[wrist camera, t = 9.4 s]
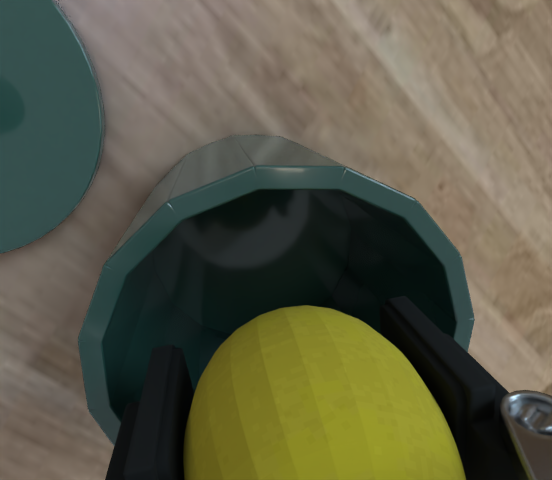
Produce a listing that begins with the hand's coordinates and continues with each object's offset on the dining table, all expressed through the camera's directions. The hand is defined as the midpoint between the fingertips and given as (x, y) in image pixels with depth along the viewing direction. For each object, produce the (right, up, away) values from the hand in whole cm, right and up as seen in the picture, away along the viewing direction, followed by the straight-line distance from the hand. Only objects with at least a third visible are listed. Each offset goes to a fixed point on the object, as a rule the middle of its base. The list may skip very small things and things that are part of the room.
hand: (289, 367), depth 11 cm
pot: (-2, +3, +9) cm, 10 cm away
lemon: (0, 0, +1) cm, 2 cm away
